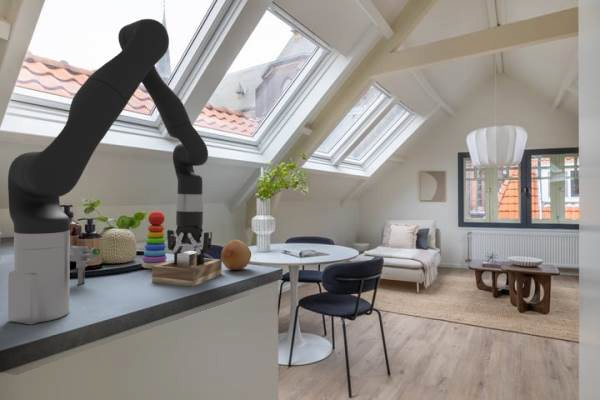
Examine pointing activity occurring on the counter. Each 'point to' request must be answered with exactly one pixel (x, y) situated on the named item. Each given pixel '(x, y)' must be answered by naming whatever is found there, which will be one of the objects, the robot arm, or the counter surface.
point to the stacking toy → (155, 241)
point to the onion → (236, 255)
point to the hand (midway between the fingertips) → (188, 265)
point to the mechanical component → (83, 259)
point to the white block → (186, 259)
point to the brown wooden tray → (186, 273)
